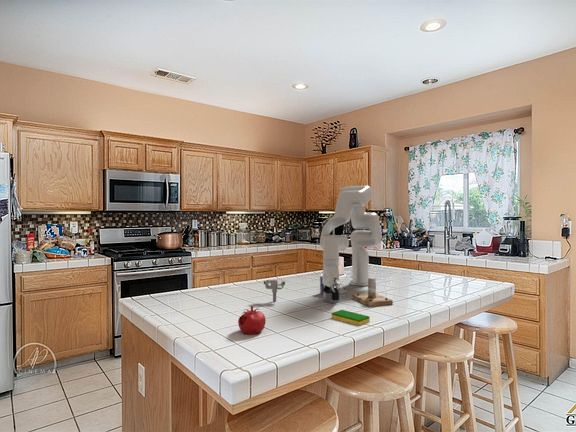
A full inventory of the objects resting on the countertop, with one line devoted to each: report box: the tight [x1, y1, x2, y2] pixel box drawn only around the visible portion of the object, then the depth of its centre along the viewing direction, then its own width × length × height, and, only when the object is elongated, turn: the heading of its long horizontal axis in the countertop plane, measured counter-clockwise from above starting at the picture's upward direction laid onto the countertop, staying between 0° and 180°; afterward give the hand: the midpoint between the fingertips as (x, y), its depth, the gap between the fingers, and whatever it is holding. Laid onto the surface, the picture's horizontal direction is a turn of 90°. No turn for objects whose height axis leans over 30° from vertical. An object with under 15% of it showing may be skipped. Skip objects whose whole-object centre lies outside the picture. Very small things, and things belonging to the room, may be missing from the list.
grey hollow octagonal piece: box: [322, 290, 340, 304], centre depth 172 cm, size 7×7×4 cm
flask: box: [319, 276, 335, 295], centre depth 187 cm, size 9×3×11 cm, turn 65°
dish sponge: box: [331, 309, 370, 326], centre depth 143 cm, size 7×14×2 cm, turn 44°
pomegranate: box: [237, 305, 267, 335], centre depth 130 cm, size 10×10×9 cm
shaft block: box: [352, 277, 394, 307], centre depth 171 cm, size 16×12×11 cm
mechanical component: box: [263, 279, 286, 303], centre depth 171 cm, size 3×10×10 cm, turn 79°
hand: (331, 297), depth 172 cm, fingers open, 9 cm apart
